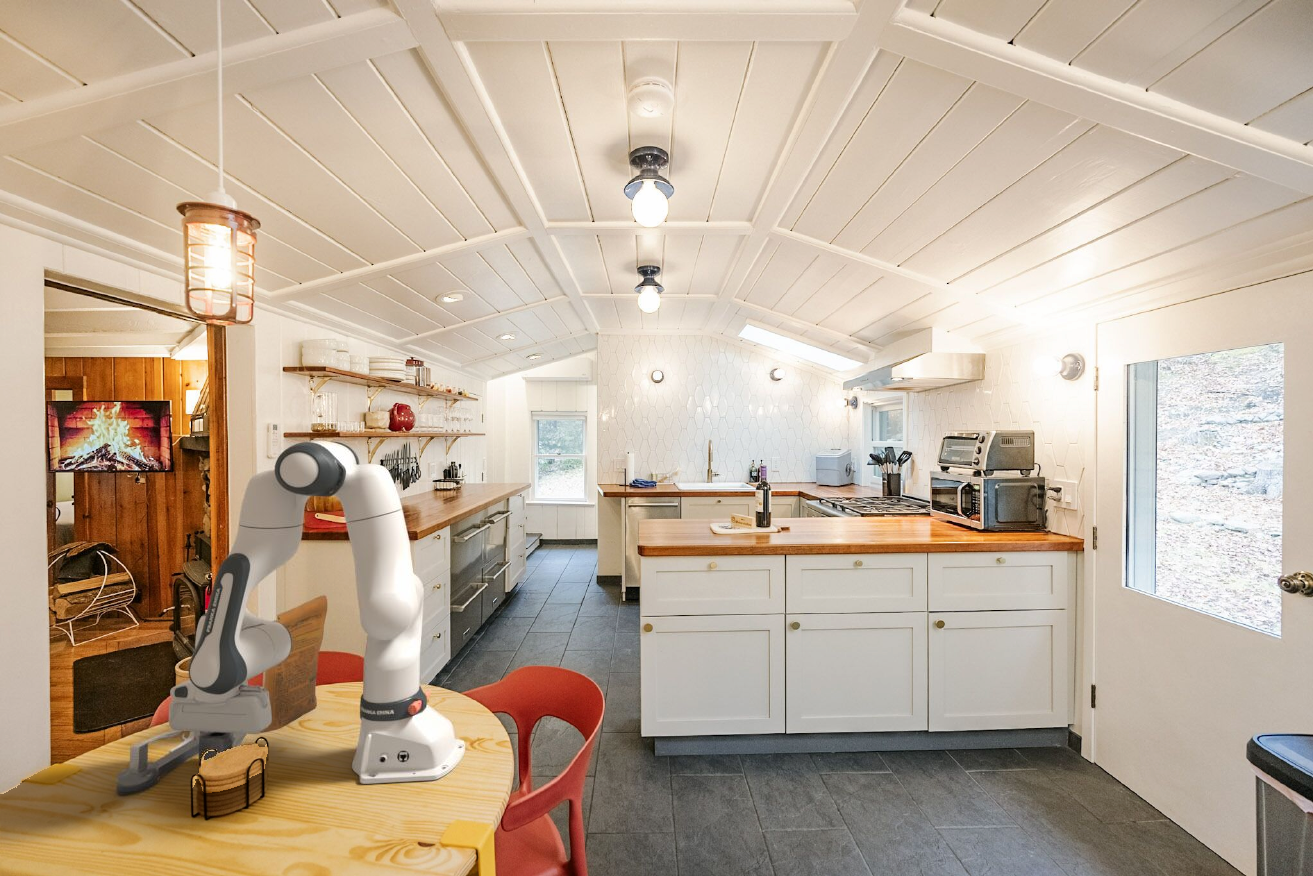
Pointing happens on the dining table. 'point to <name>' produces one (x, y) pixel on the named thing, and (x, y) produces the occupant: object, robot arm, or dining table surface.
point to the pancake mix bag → (297, 664)
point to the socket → (214, 743)
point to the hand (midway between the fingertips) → (220, 751)
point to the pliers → (175, 732)
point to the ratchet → (151, 767)
